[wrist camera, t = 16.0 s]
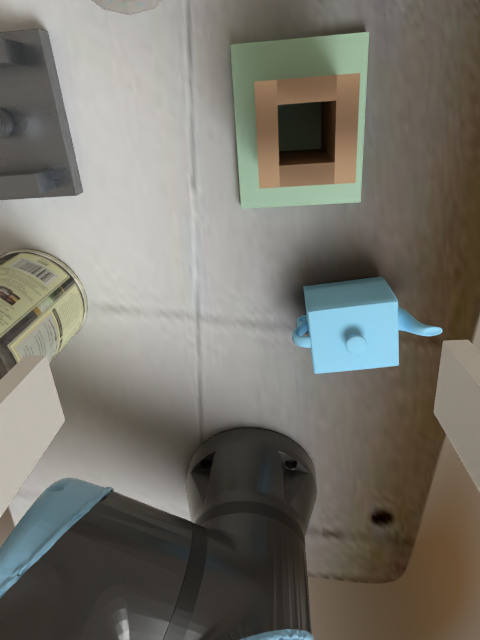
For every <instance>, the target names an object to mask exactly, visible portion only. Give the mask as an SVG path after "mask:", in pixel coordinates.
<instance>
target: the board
mask: <svg viewBox="0 0 480 640" xmlns="http://www.w3.org/2000/svg"><path fill="white" fill-rule="evenodd" d="M368 45H369V32H361V33H350V34H339V35H328V36H317V37H306V38H295V39H284V40H273V41H262V42H251V43H240V44H230V50H231V65H232V80H233V95H234V110H235V125H236V139H237V154H238V169H239V184H240V199H241V209H246V208H264V207H282V206H301V205H319V204H337V203H355V202H361V183H362V163H363V144H364V124H365V104H366V84H367V65H368ZM353 73H360V93H359V115H358V137H357V160H356V182H355V183H345V184H328V185H311V186H294V187H277V188H260V189H259V171H258V151H257V130H256V109H255V89H254V82H256V81H268V80H280V79H292V78H305V77H317V76H329V75H341V74H353ZM277 106H278V141H279V151H294V150H309V149H321V102H310V103H296V104H283V105H277Z"/></svg>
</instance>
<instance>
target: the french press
mask: <svg viewBox="0 0 480 640" xmlns="http://www.w3.org/2000/svg"><path fill="white" fill-rule="evenodd" d="M92 1H93V2H95V3H96V4H97V5H99V6H100V7H102V8H103V9H105V10H109V11H114V12H118V13H123V14H127V15H131V14H135V13H139V12H142V11H146V10H150V9H154V8H155V7H156V6H157V5H158V4H159V3H160V2H162V1H163V0H92Z"/></svg>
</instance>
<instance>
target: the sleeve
mask: <svg viewBox="0 0 480 640" xmlns="http://www.w3.org/2000/svg"><path fill="white" fill-rule="evenodd" d="M254 89H255V109H256V130H257V151H258V171H259V189H260V188H277V187H294V186H311V185H328V184H345V183H355V182H356V160H357V137H358V115H359V93H360V73H353V74H341V75H329V76H317V77H305V78H292V79H280V80H268V81H256V82H254ZM310 102H321V149H309V150H294V151H279V141H278V106H277V105H283V104H296V103H310Z"/></svg>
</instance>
